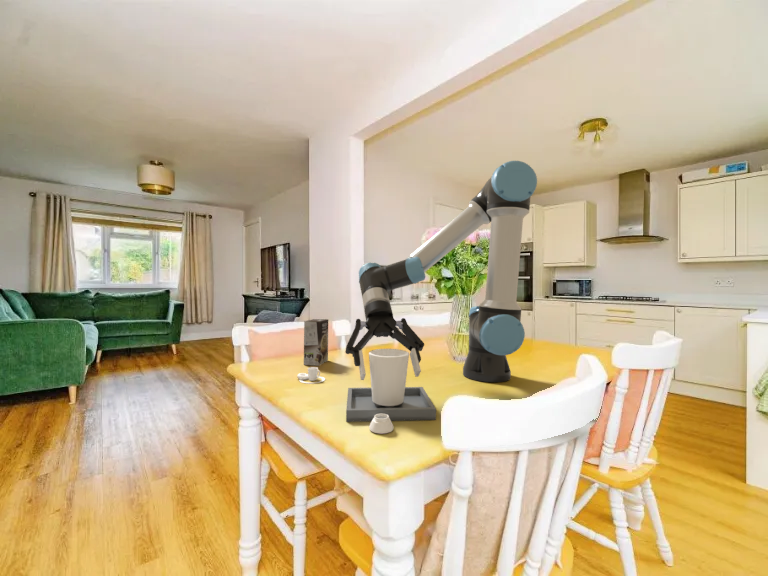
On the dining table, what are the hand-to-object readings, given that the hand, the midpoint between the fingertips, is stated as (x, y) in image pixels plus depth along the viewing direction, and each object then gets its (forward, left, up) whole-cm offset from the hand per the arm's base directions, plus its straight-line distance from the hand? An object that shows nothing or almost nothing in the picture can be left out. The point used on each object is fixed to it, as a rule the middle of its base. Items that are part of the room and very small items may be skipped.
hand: (391, 375), depth 82 cm
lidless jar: (+3, +10, -9) cm, 14 cm away
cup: (+1, -2, -8) cm, 8 cm away
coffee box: (+23, -49, -9) cm, 55 cm away
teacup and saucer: (+22, -30, -9) cm, 38 cm away
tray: (0, -2, -8) cm, 9 cm away
